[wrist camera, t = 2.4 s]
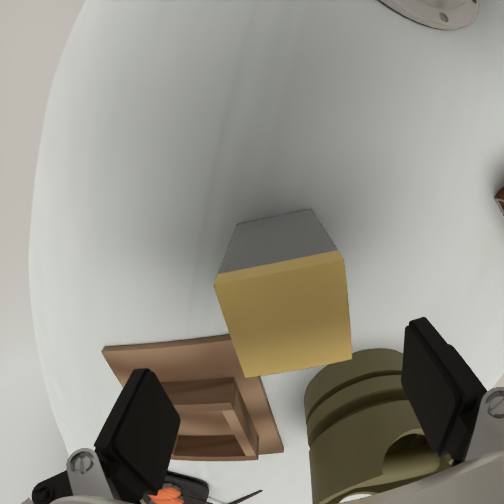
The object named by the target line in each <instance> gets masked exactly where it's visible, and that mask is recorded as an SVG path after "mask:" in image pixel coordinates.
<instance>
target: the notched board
mask: <svg viewBox="0 0 504 504" xmlns="http://www.w3.org/2000/svg"><path fill="white" fill-rule="evenodd" d="M101 352H102V354H103V356H104V357H105V359H106V361H107V363H108V364H109V366H110V367H111V369H112V371H113V372H114V374H115V376H116V377H117V379H118V380H119V382H120V383H121V385H122V387H123V388H124V386H125V384H126V382H127V380H128V379H129V377H130V375H131V373H132V371H133V370H134V369H139V368H149V369H150V370H151V371H152V372H154V373H155V374H156V376H157V378H158V380H159V381H160V383H161V385H162V387H163V388H164V390H165V392H166V394H167V395H168V397H169V399H170V401H171V402H172V404H173V406H174V407H175V409H176V411H177V412H178V414H179V416H180V419H181V423H180V427H179V430H178V434H177V437H176V441H175V444H174V448H173V452H172V455H171V459H173V460H189V461H245V460H258V455H261V454H273V453H283V452H284V447H283V444H282V441H281V438H280V435H279V432H278V429H277V426H276V423H275V420H274V417H273V414H272V411H271V408H270V405H269V402H268V399H267V396H266V393H265V390H264V387H263V384H262V381H261V378H260V376H255V377H247V378H245V376H244V373H243V370H242V367H241V364H240V362H239V359H238V356H237V353H236V350H235V348H234V345H233V342H232V339H231V336H230V334H228V335H221V336H214V337H206V338H198V339H190V340H181V341H171V342H161V343H150V344H138V345H125V346H109V347H104V348H103V350H102V351H101Z"/></svg>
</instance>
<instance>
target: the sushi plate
mask: <svg viewBox="0 0 504 504" xmlns="http://www.w3.org/2000/svg"><path fill="white" fill-rule="evenodd" d="M262 491H263V490H259V491H257V492H254V493H252V494H250V495H247V496H245V497H243V498H240V499H238V500H236V501H234V502H233V503H231V504H237V503H240V502H242V501H244V500H246V499H248V498H250V497H252V496H254V495H256V494H258V493H260V492H262ZM208 494H209V490H208V488H207V487H206V486H205V485H203V484H200V483H197V482H194V481H190V480H186V479H182V478H178V477H175V476H171V475H167V474H166V477H165V480H164V484H163V487H162V489H161V490H159V491H158V494H157V496H153V495H147V494H144V495H143V500H144V502H145V503H146V504H212V503H209V502H206V501H207V498H208Z"/></svg>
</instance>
